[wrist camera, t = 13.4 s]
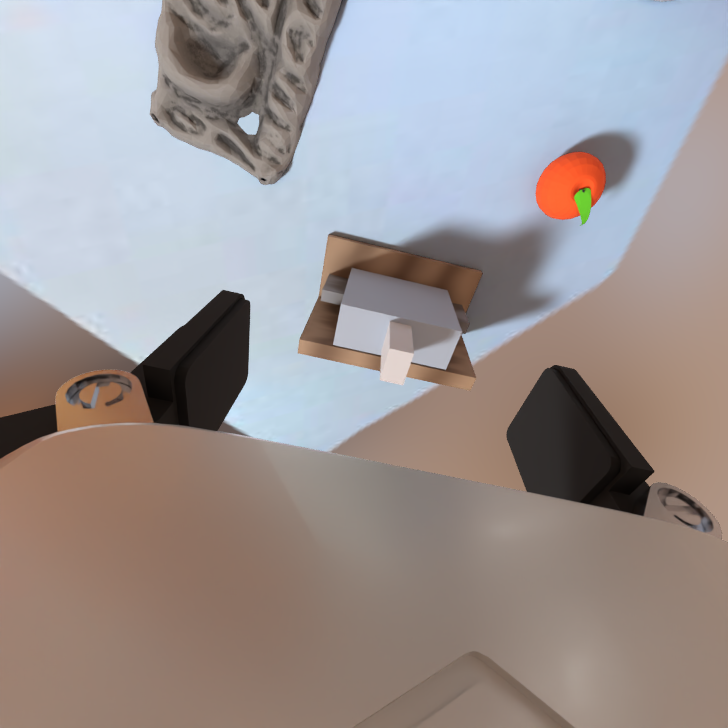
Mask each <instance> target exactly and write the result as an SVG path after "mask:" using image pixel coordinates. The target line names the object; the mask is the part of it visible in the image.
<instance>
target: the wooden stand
mask: <svg viewBox="0 0 728 728" xmlns="http://www.w3.org/2000/svg"><path fill="white" fill-rule="evenodd" d="M352 268H355V269H359V270H364V271H368V272H372V273H376V274H381V275H385V276H389V277H393V278H397V279H402V280H406V281H410V282H414V283H419V284H423V285H427V286H431V287H436V288H440V289H444V290H447V291H448V293H449V296H450V299H451V302H452V305H453V307H454V310H455V313H456V316H457V319H458V321H459V324H460V327H461V330H462V333H464V334H465V333H466V331H467V329H468V326H469V324H470V323H469V321H468V318H467V316H466V311H467V309H468V307H469V304H470V302H471V300H472V297H473V295H474V293H475V290H476V288H477V285H478V283H479V281H480V278H481V276H482V274H483V273H482V271H480V270H476V269H471V268H467V267H463V266H459V265H455V264H451V263H447V262H442V261H438V260H434V259H430V258H426V257H422V256H418V255H413V254H409V253H405V252H401V251H397V250H393V249H389V248H384V247H380V246H376V245H372V244H368V243H364V242H360V241H355V240H351V239H347V238H343V237H339V236H335V235H331V234H329V235H328V240H327V246H326V253H325V259H324V266H323V272H322V279H321V285H320V292H319V297H318V299H317V302H316V304H315V306H314V308H313V311H312V313H311V315H310V317H309V319H308V322H307V324H306V326H305V328H304V331H303V333H302V335H301V337H300V340H299V348H298V353H300V354H304V355H309V356H313V357H318V358H323V359H327V360H332V361H336V362H341V363H346V364H350V365H355V366H359V367H364V368H369V369H373V370H378V371H380V368H381V355H377V354H372V353H368V352H363V351H359V350H354V349H350V348H345V347H340V346H336V345H333V342H334V337H335V332H336V327H337V322H338V317H339V312H340V306H341V302H342V299H343V295H344V292H345V289H346V285H347V282H348V279H349V275H350V272H351V269H352ZM406 377H410V378H414V379H419V380H424V381H428V382H433V383H437V384H442V385H447V386H451V387H456V388H461V389H465V390H471V388H472V386H473V383H474V382H475V380H476V376H475V373H474V370H473V367H472V364H471V361H470V358H469V356H468V353H467V350H466V347H465V344H464V341H463V338H462V335H461V336H460V338H459V340H458V343H457V345H456V347H455V350H454V352H453V354H452V357H451V359H450V361H449V364H448V366H447V368H446V370H445V369H440V368H436V367H431V366H427V365H422V364H417V363H413V362H411V364H410V367H409V370H408V372H407V375H406Z"/></svg>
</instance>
